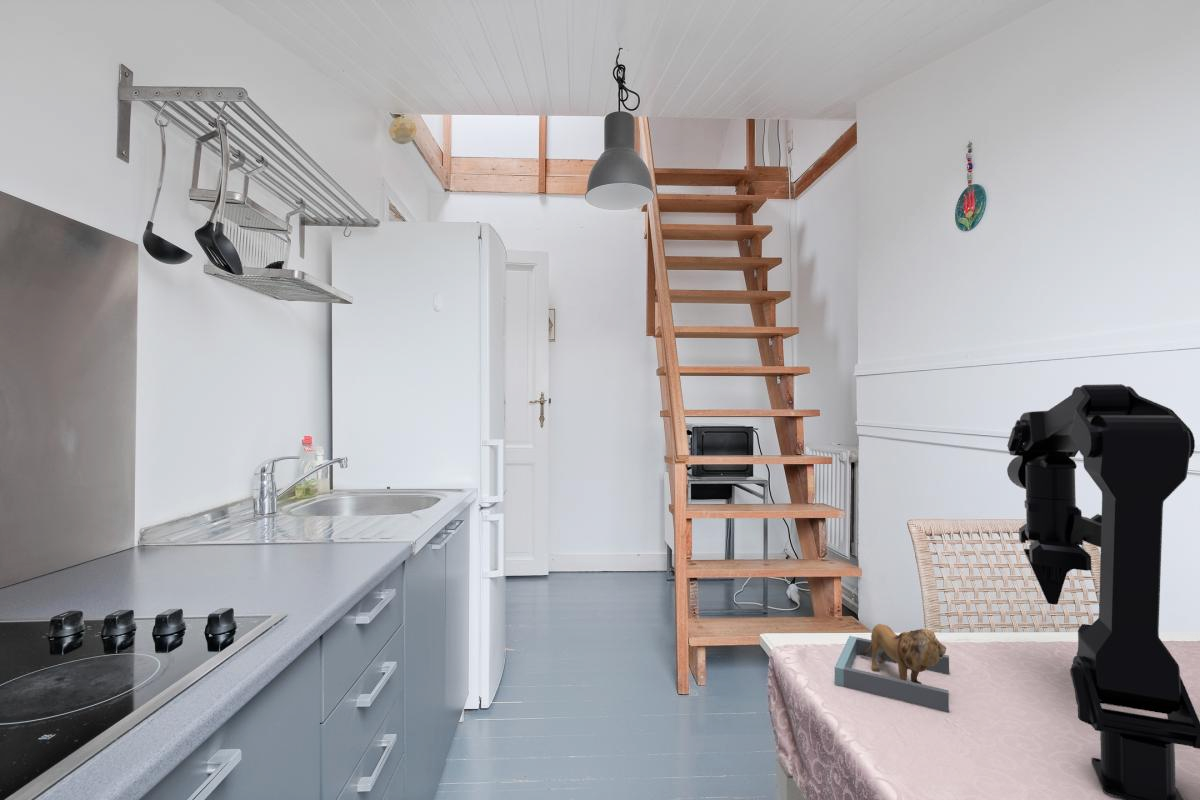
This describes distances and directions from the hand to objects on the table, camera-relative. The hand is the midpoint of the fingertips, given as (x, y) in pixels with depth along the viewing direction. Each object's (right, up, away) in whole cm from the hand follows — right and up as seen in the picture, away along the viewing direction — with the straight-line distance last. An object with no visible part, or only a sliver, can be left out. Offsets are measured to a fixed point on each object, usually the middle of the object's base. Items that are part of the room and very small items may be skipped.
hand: (1052, 603), depth 82 cm
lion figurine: (-21, -12, +2) cm, 25 cm away
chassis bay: (-22, -12, +2) cm, 25 cm away
